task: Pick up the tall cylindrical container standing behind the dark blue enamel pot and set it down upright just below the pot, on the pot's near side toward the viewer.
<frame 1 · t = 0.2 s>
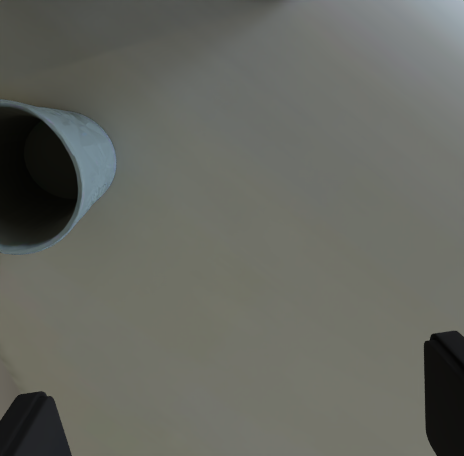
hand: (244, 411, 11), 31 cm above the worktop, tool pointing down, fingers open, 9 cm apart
grey green cup: (67, 157, 40), on the worktop
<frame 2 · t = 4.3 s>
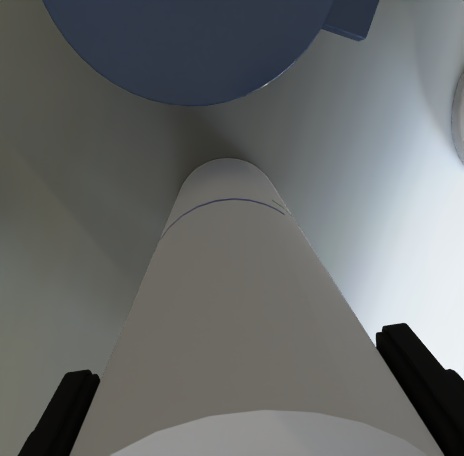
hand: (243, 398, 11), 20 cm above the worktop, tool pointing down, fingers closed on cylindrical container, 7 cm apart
cylindrical container: (227, 207, 31), on the worktop, touching gripper
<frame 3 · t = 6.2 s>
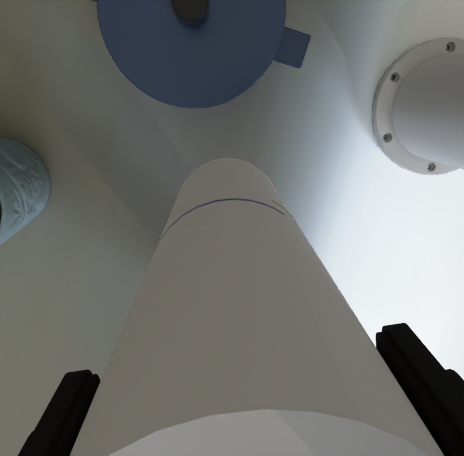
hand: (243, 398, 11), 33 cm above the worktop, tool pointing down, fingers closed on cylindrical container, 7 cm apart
pot: (196, 30, 39), on the worktop
pot lid: (192, 12, 31), point 8 cm above the worktop, touching pot
grey green cup: (8, 178, 43), on the worktop
cylindrical container: (227, 207, 31), point 13 cm above the worktop, touching gripper
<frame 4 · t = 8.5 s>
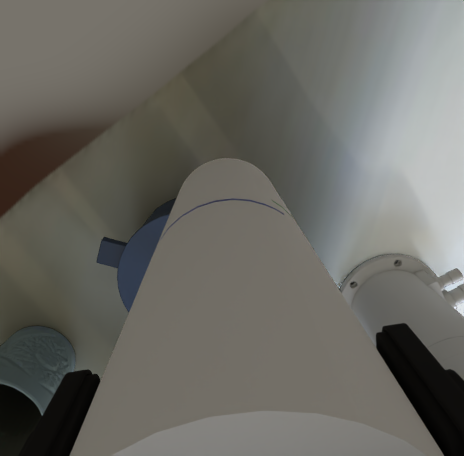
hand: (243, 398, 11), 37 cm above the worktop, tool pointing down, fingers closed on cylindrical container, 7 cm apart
pot: (194, 249, 49), on the worktop
pot lid: (189, 278, 41), point 8 cm above the worktop, touching pot
grey green cup: (41, 354, 53), on the worktop
cylindrical container: (227, 208, 31), point 17 cm above the worktop, touching gripper
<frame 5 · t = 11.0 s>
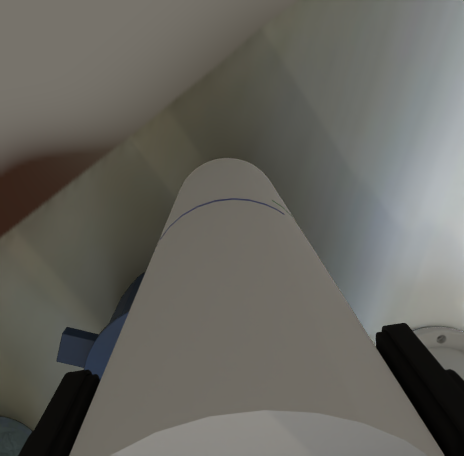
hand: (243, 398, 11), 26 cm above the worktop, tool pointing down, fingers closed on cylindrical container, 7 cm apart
pot: (186, 323, 40), on the worktop
pot lid: (178, 381, 31), point 8 cm above the worktop, touching pot
grey green cup: (1, 447, 43), on the worktop
cylindrical container: (227, 207, 31), point 6 cm above the worktop, touching gripper
when the fingers open (20 cm above the worktop, at t = 13.0 s): cylindrical container stays where it is, on the worktop.
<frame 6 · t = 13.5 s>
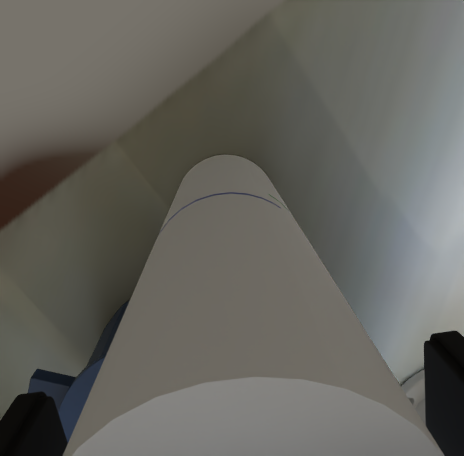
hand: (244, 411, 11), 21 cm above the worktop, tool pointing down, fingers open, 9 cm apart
pot: (181, 355, 35), on the worktop
pot lid: (170, 434, 26), point 8 cm above the worktop, touching pot
cylindrical container: (226, 203, 31), on the worktop
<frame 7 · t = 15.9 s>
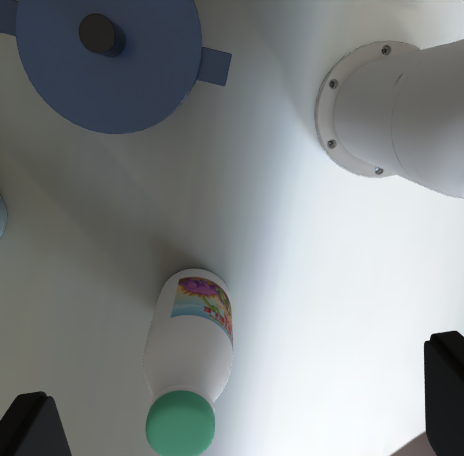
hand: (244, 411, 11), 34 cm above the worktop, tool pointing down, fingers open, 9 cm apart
pot: (133, 52, 40), on the worktop
milk bottle: (195, 298, 48), on the worktop
pot lid: (111, 40, 32), point 8 cm above the worktop, touching pot
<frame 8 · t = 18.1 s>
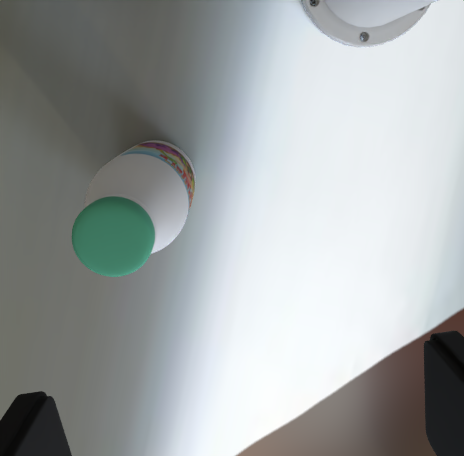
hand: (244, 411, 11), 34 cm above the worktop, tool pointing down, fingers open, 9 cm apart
milk bottle: (157, 178, 44), on the worktop
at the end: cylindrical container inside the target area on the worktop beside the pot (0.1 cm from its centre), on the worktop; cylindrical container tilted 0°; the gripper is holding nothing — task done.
